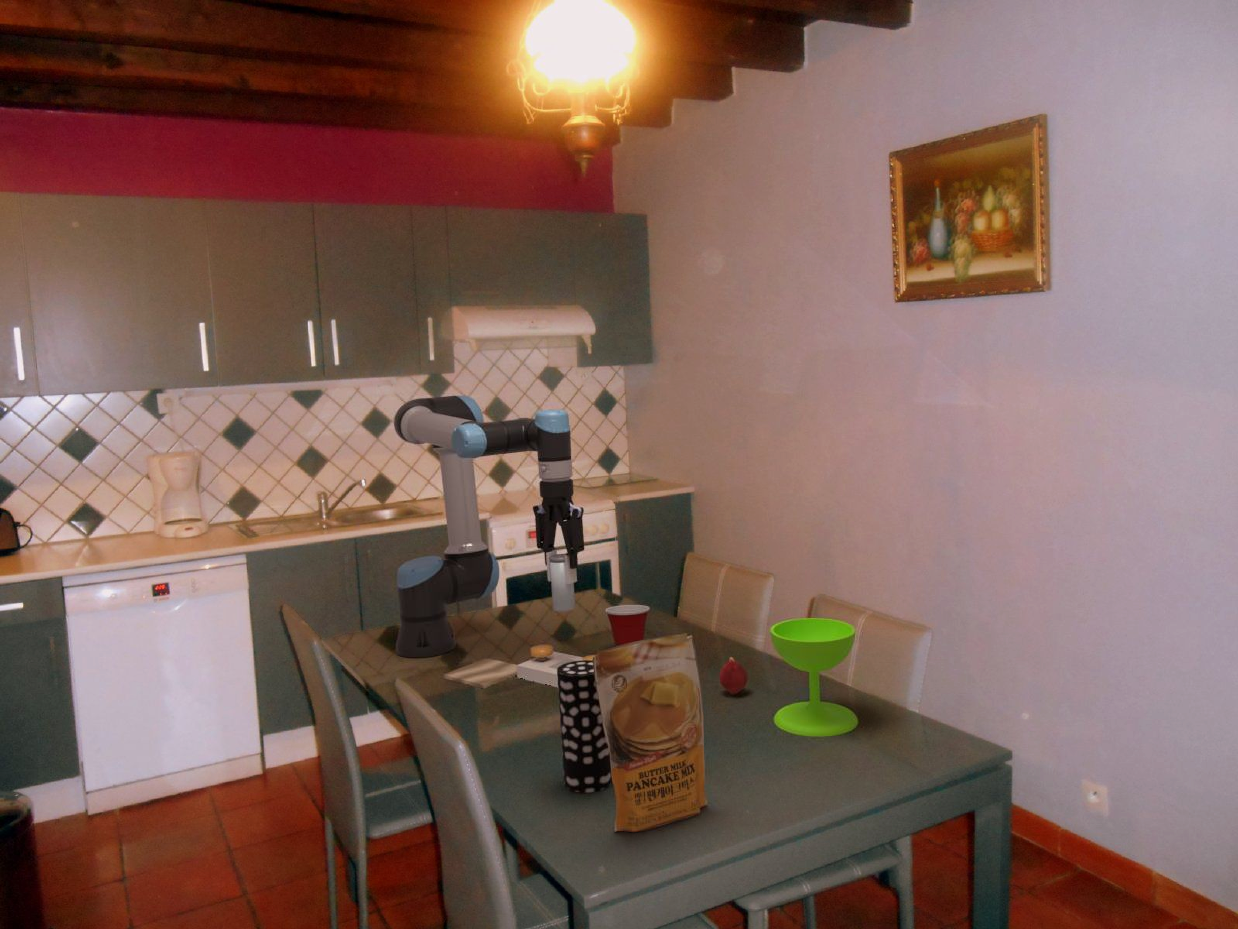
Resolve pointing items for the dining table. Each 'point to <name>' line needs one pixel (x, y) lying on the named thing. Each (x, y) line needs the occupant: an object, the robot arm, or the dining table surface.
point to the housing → (544, 668)
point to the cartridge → (561, 585)
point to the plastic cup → (627, 623)
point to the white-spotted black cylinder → (582, 729)
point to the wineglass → (814, 673)
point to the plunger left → (542, 652)
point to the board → (483, 673)
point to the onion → (733, 676)
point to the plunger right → (588, 657)
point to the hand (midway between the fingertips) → (562, 581)
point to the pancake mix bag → (653, 729)
